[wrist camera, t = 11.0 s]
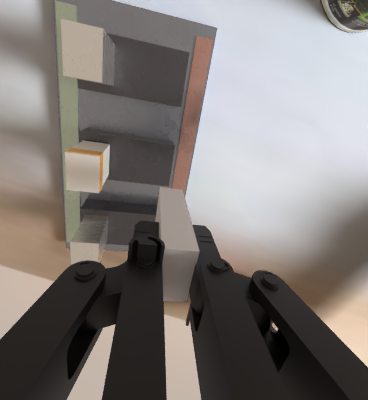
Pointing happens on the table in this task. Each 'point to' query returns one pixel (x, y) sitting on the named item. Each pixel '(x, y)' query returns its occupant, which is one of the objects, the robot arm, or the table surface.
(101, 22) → the panel
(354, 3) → the coffee can
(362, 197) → the table surface
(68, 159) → the handle
